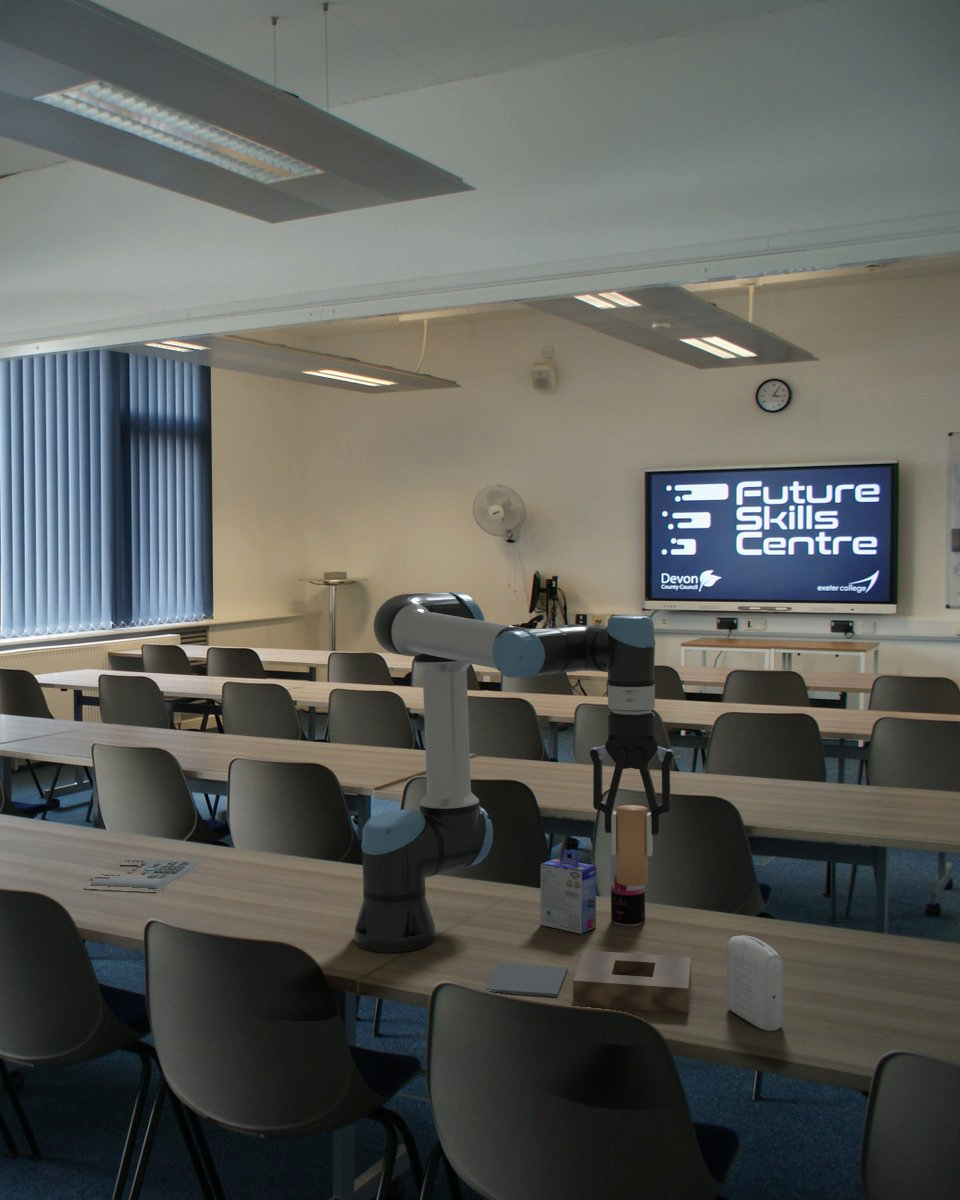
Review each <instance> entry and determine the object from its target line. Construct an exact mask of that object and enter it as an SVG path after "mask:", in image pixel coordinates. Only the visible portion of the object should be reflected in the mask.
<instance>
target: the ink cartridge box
mask: <svg viewBox="0 0 960 1200" xmlns="http://www.w3.org/2000/svg"><path fill="white" fill-rule="evenodd" d="M580 853H581V852H580V851H576V850H572V849H564V850H563V852H562V856H561V858H560V859H558V858H557V859H555V858H554V859H551V860H547V861H545V862H542V863H541V864H540V907H539V908H540V913H539V914H540V915H539V916H540V917H539V919H540V920H539V921H540V923H539V925H540V926H544V927H550V928H554V929H558V930H562V931H567V932H570V933H575V934H580V935H582V934H584V933H588V932H589V931H591V930H595V929H596V928H597V896H596V895H597V881H596V880H597V873H596V872H597V871H596V870H597V866H596V865H594V864H588V863H582V862H579V858H580ZM566 855H573V856H574V857H575V858H571V857H566Z"/></svg>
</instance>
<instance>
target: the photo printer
mask: <svg viewBox="0 0 960 1200" xmlns="http://www.w3.org/2000/svg"><path fill="white" fill-rule="evenodd" d="M726 1006H727V1009H728V1010H730V1011H731V1012H732V1013H734V1014H736V1016H739V1017H740V1018H742V1019H743V1020H745V1021H746V1022H748V1023H750V1024H751V1025H753V1026H755V1027H756V1028H758V1029H761V1030H764V1031H767V1032H774V1031H777V1030H779V1029H780V1028H781V1027H782V1025H783V1019H784V962H783V960H782V958H781V956H780V955H779V954H778V952H777V951H776V950H775V949H774V948H772V947H771V946H770V945H769V944H767V943H765V942H764V941H762V940H761V939H759V938H756V937H753V936H749V935H745V934H744V935H735V936H732V937H731V938H730V939H729V940H728V943H727V947H726Z"/></svg>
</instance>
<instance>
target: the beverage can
mask: <svg viewBox="0 0 960 1200" xmlns="http://www.w3.org/2000/svg"><path fill="white" fill-rule="evenodd" d="M610 908H611V911H610V914H611V917H610V919H611V921H612V922H613V923H614V924H615V925H617V926H620V927H621V926H622V927H636V926H640V925H642V924H644V922H645V921H646V884H645V885H641V886H626V885H621V884H619V883H617V854H616V855H612V846H611V847H610Z"/></svg>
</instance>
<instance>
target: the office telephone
mask: <svg viewBox="0 0 960 1200" xmlns="http://www.w3.org/2000/svg"><path fill="white" fill-rule="evenodd" d="M127 860H128V861H127ZM131 860H132V862H135V861H136V862H138V863H140V862H141V863H142V864H141V865H140V866H136V867H137V868H141V867H147V868H144V870H143V872H142V873H141V874H142V875H145V874H146V873H147V874H148V877H147V878H121V877H95V879H94V880H92V881H91V882H90V883H91V885H90V886H107V887H111V886H113V887H132V888H148V889H149V890H153V891H155V890H156V891H159V890H161V889H162V888H164V887H166V886H167V885H168V884H170V883H171V882H173V881H174V880H176V879H177V878H179V877H180V876H182V875H183V874H185V873H186V872H188V871H189V870H190V869H191V868H193V867H194V866H196V865H198V864H199V863H200V862H201V861H202V860H197V859H196V860H195V859H194V860H193V859H191V860H189V859H186V860H185V859H155V860H153V859H152V860H151V859H150V860H149V859H148V860H147V861H146V860H142V859H125V860H124V861H127V862H130V861H131ZM139 861H140V862H139ZM136 862H135V863H136ZM136 870H137V869H135V868H133V869H131V870H130V871H136ZM153 870H154V871H153ZM130 871H128V872H127V873H126V874H131V873H133V872H130ZM141 871H142V870H141ZM141 871H140V872H141ZM137 872H138V871H137ZM108 874H109V873H108ZM108 874H106V875H104V874H101V875H104V876H107V875H108ZM111 875H112V876H115V875H117V876H120V875H121V874H113V873H112V874H110V875H108V876H111ZM149 878H150V879H149ZM148 889H146V890H148Z"/></svg>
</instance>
